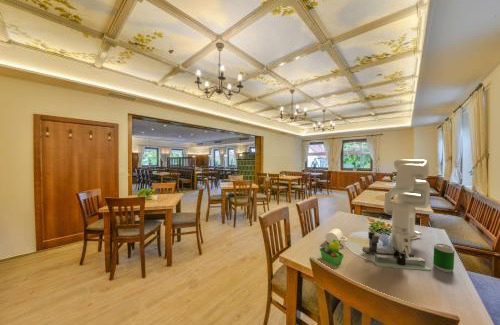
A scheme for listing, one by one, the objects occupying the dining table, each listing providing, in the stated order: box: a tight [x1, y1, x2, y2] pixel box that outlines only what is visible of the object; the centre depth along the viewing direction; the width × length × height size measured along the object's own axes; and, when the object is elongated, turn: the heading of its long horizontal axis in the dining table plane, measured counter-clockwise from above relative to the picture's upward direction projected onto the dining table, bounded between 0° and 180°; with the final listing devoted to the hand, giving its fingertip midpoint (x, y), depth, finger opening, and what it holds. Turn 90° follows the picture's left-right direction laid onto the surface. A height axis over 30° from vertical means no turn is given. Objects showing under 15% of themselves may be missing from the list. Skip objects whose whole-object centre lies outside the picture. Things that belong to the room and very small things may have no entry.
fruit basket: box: [319, 239, 345, 266], centre depth 110 cm, size 11×9×11 cm
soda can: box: [432, 243, 455, 273], centre depth 102 cm, size 8×8×12 cm
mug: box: [325, 228, 348, 245], centre depth 131 cm, size 12×10×8 cm
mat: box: [370, 256, 432, 272], centre depth 106 cm, size 25×8×1 cm, turn 81°
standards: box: [362, 231, 415, 257], centre depth 118 cm, size 25×6×11 cm, turn 81°
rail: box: [374, 254, 426, 266], centre depth 106 cm, size 23×3×3 cm, turn 81°
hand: (399, 262), depth 106 cm, fingers open, 3 cm apart
